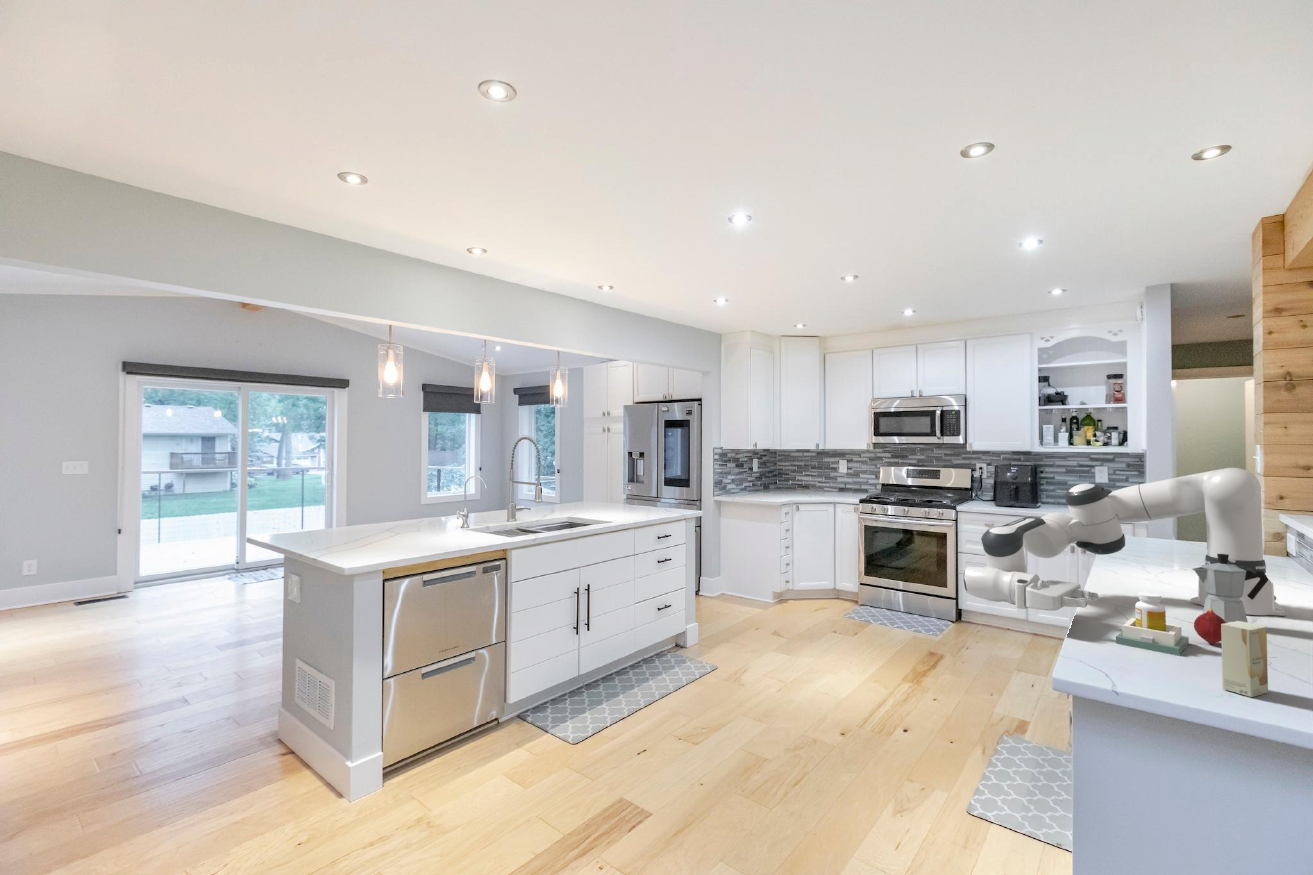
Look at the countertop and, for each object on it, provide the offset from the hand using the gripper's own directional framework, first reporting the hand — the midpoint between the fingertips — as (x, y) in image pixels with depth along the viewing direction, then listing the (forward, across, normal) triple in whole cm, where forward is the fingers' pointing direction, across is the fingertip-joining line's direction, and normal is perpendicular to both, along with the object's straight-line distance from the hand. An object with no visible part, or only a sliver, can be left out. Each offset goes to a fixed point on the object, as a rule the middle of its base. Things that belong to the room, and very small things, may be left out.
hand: (1092, 600), depth 144 cm
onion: (+20, -10, -8) cm, 24 cm away
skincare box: (+28, +21, -8) cm, 36 cm away
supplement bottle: (+11, 0, -6) cm, 13 cm away
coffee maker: (+21, -31, -8) cm, 39 cm away
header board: (+11, 0, -8) cm, 14 cm away
